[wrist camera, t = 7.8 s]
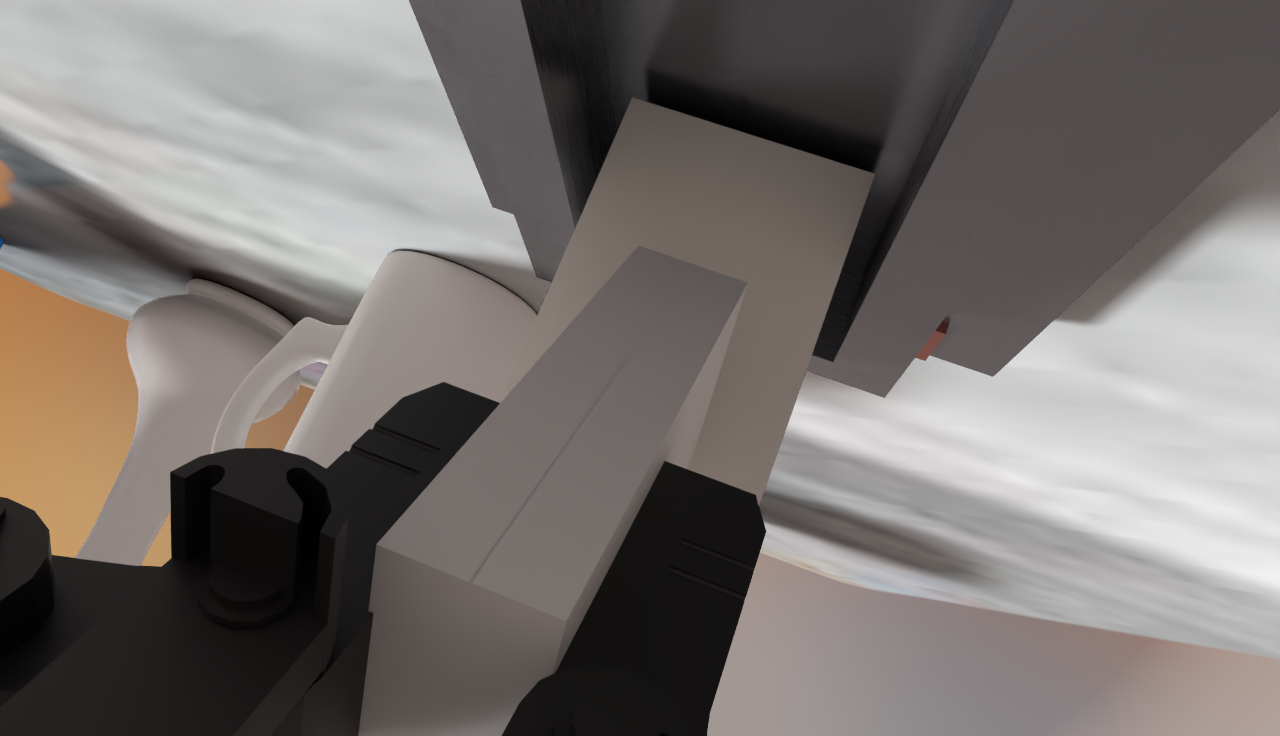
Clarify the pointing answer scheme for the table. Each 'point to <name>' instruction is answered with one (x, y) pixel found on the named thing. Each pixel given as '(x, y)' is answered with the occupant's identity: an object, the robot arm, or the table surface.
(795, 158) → the toggle
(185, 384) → the flower vase
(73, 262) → the table surface
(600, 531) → the robot arm
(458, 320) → the mug
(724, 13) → the dark gray tray
